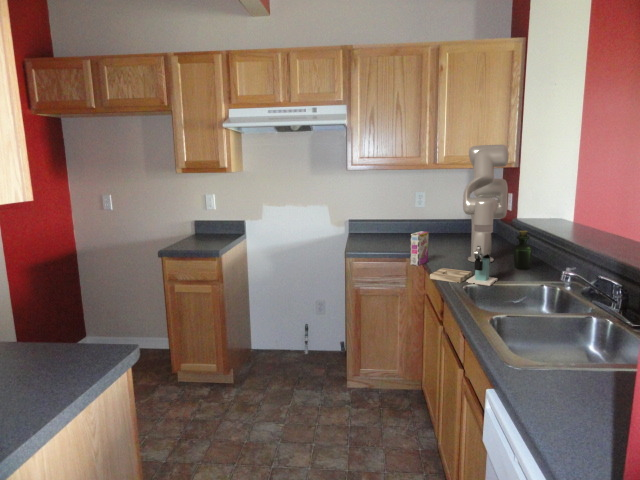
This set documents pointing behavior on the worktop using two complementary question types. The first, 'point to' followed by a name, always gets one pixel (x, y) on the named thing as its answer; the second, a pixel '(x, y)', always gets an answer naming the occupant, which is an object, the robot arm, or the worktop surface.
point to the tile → (487, 282)
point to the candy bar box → (419, 248)
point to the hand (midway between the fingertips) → (482, 267)
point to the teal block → (483, 271)
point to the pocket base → (451, 275)
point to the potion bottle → (522, 252)
